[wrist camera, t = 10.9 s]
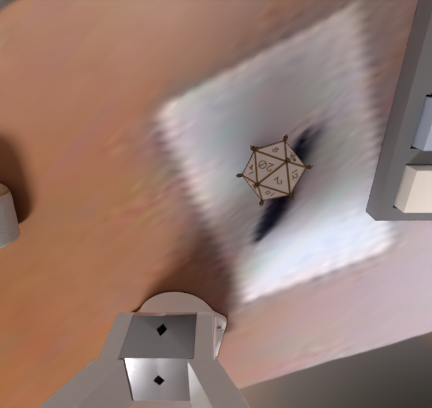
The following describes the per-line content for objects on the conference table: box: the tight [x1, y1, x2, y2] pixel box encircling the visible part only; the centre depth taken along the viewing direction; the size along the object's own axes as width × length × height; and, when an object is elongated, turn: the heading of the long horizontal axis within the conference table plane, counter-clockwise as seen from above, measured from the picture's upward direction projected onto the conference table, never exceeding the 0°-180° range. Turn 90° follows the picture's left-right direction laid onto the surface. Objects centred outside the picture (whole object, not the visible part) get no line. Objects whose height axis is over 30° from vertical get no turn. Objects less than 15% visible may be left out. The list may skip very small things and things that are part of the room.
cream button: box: [394, 164, 432, 213], centre depth 39 cm, size 6×6×3 cm
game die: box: [236, 135, 313, 206], centre depth 38 cm, size 9×8×10 cm
